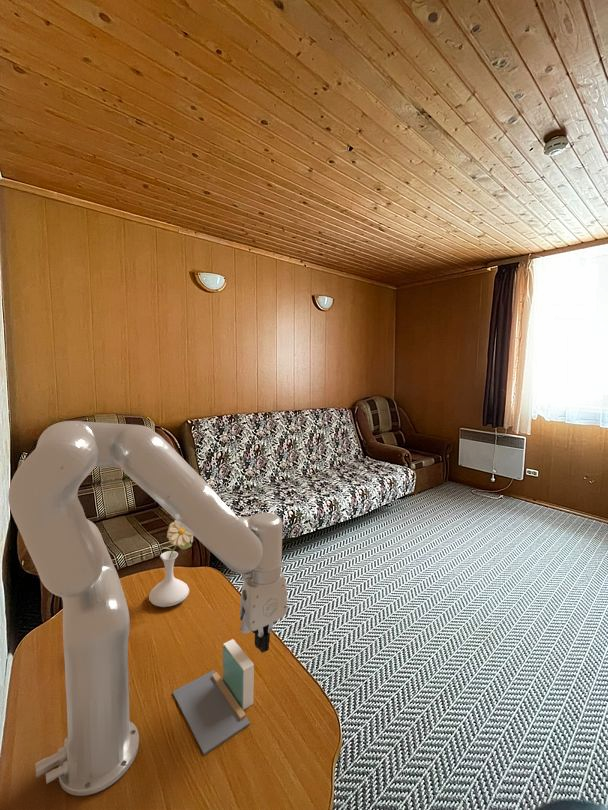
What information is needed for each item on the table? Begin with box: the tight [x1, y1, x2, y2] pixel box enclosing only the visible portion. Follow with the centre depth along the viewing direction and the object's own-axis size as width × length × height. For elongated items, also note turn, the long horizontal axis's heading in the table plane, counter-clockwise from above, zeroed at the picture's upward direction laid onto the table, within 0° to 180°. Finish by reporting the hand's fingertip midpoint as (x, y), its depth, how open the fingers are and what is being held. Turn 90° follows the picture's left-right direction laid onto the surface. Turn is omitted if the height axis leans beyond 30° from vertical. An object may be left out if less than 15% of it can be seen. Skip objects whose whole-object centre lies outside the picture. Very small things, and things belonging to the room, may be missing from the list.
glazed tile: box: [222, 638, 255, 711], centre depth 80 cm, size 3×9×9 cm, turn 39°
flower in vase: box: [148, 520, 194, 608], centre depth 110 cm, size 13×11×25 cm
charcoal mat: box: [172, 669, 251, 756], centre depth 76 cm, size 10×16×1 cm, turn 39°
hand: (261, 647), depth 83 cm, fingers closed
